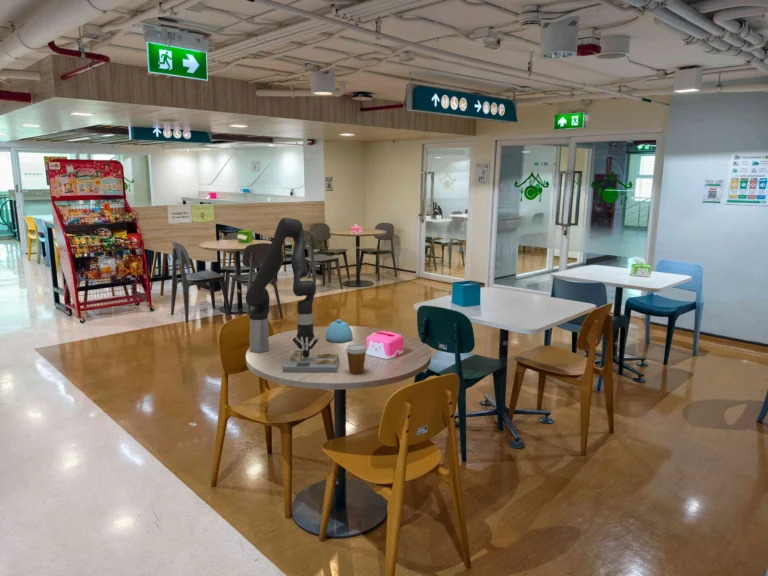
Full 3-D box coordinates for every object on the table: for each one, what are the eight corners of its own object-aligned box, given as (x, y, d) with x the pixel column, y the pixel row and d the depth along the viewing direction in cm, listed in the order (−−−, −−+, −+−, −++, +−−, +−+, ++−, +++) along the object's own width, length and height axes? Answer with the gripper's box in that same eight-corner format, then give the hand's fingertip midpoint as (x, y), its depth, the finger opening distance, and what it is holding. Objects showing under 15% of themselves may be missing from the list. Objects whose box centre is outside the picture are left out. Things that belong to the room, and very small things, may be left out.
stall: (315, 364, 264) (315, 360, 264) (317, 357, 275) (317, 353, 274) (336, 364, 264) (336, 360, 264) (338, 357, 275) (338, 353, 274)
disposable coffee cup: (347, 368, 266) (347, 343, 264) (367, 369, 266) (367, 344, 263) (344, 374, 257) (344, 349, 255) (365, 375, 256) (365, 350, 254)
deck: (282, 372, 260) (282, 367, 260) (288, 362, 275) (287, 357, 274) (336, 372, 260) (336, 367, 260) (339, 362, 275) (339, 357, 275)
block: (289, 361, 268) (289, 353, 268) (292, 358, 273) (292, 350, 273) (300, 361, 268) (300, 353, 267) (302, 358, 273) (302, 350, 272)
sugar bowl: (324, 343, 308) (323, 322, 306) (327, 336, 323) (327, 316, 321) (351, 343, 308) (351, 323, 306) (353, 336, 322) (353, 316, 320)
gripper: (320, 321, 270) (321, 355, 273) (294, 319, 272) (295, 354, 275) (316, 324, 263) (317, 360, 266) (289, 323, 265) (290, 358, 268)
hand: (306, 357), depth 270 cm, fingers closed
